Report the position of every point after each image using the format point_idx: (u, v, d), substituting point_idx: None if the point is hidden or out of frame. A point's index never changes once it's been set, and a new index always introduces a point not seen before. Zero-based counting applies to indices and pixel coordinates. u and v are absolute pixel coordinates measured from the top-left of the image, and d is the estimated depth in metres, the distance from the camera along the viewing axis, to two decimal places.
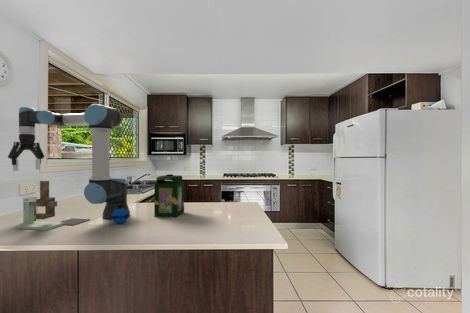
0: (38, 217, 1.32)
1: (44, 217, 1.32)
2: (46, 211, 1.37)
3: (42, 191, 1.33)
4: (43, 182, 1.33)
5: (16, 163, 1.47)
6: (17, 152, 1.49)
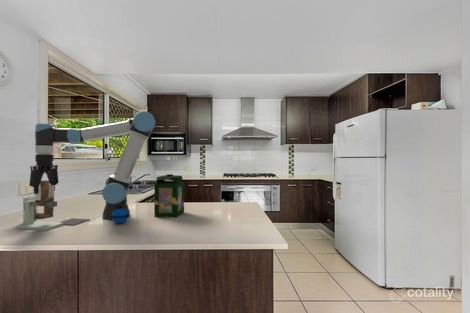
0: (36, 217, 1.31)
1: (42, 217, 1.31)
2: (44, 211, 1.36)
3: (42, 190, 1.33)
4: (43, 182, 1.33)
5: (38, 191, 1.30)
6: (37, 178, 1.30)
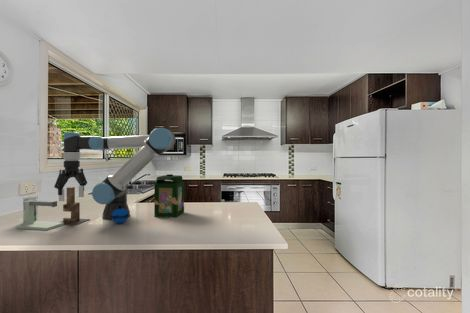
0: (65, 221, 1.41)
1: (70, 221, 1.41)
2: (71, 215, 1.46)
3: (68, 196, 1.42)
4: (69, 188, 1.42)
5: (62, 193, 1.37)
6: (63, 181, 1.38)
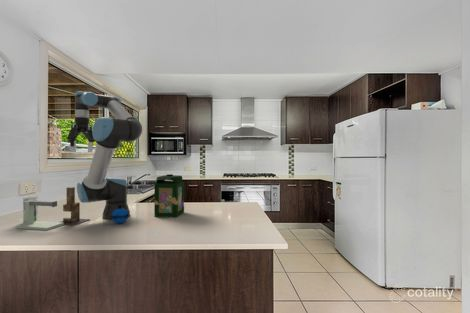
0: (65, 221, 1.41)
1: (70, 221, 1.41)
2: (71, 215, 1.46)
3: (68, 196, 1.42)
4: (69, 188, 1.42)
5: (74, 144, 1.53)
6: (74, 134, 1.55)
